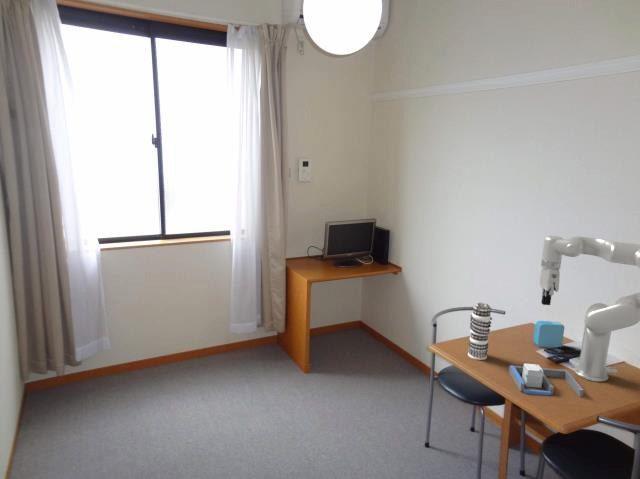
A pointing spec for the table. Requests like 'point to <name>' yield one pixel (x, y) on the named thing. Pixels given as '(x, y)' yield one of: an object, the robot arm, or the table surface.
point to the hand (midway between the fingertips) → (545, 304)
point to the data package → (548, 334)
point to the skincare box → (532, 375)
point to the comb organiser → (545, 380)
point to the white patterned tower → (479, 331)
